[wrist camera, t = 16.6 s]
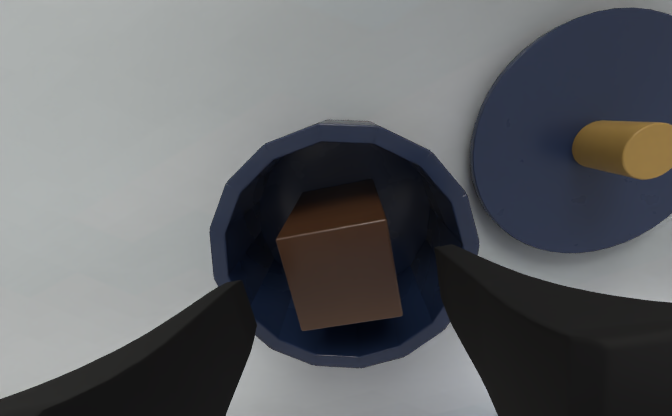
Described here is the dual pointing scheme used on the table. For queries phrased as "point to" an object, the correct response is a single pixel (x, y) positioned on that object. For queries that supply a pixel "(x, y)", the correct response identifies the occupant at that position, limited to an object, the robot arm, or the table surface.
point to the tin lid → (580, 134)
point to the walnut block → (339, 257)
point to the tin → (403, 223)
